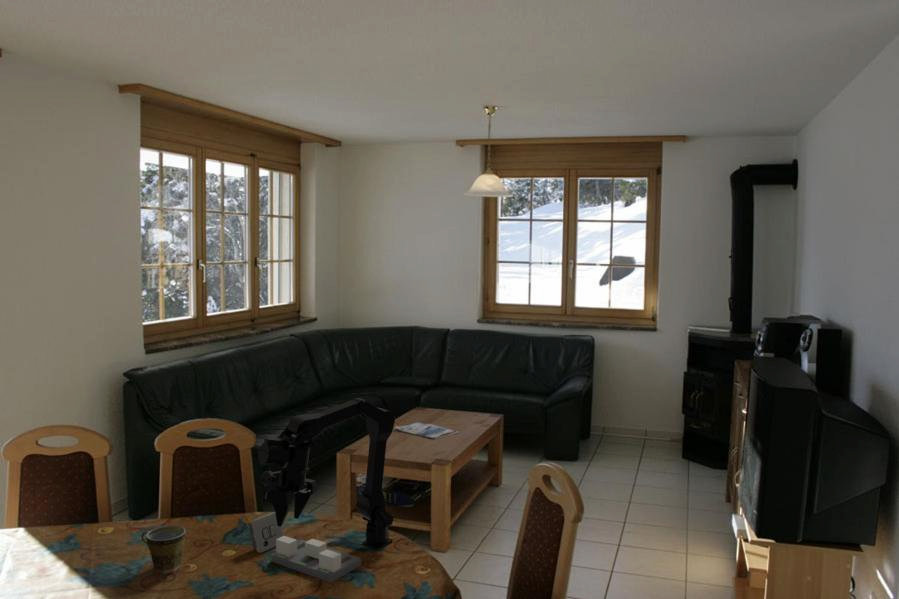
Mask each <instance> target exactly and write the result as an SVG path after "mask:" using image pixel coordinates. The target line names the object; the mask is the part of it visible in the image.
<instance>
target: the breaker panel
mask: <svg viewBox="0 0 899 599" xmlns="http://www.w3.org/2000/svg"><path fill="white" fill-rule="evenodd" d="M307 541H308V540H305V539H300V540H298V539H295V538H293V537H290V536H286V535H284V536H282V537H280V538H278V539H276V547H275V548H276V549H275V550H276V552H273V553H271V554H270V561H271V562H272V563H275V564H277V565H279V566H280V565H281V566H283V567H286V568H289V569H291V570H293V571H296V572H300V573H303V574H305V575H308V576H312V577H314V578H318V579H319V580H323V581H326V582H328V583H333V582H334V581H336V580H338V579H340V578H341V577H343V576H345V575H347V574H348V573H350V572H352V571H354V570H355V569H357V568H360V567H361V565H362V559H361V557H359V556H355V555H353V554H348V553H345V552H343V551H339V550H337V549H333V548H330V547H327V546H326V550H325V551H323V552H321V553H319V559H316V558H313V557H310V556H307V555H305V542H307Z"/></svg>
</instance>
